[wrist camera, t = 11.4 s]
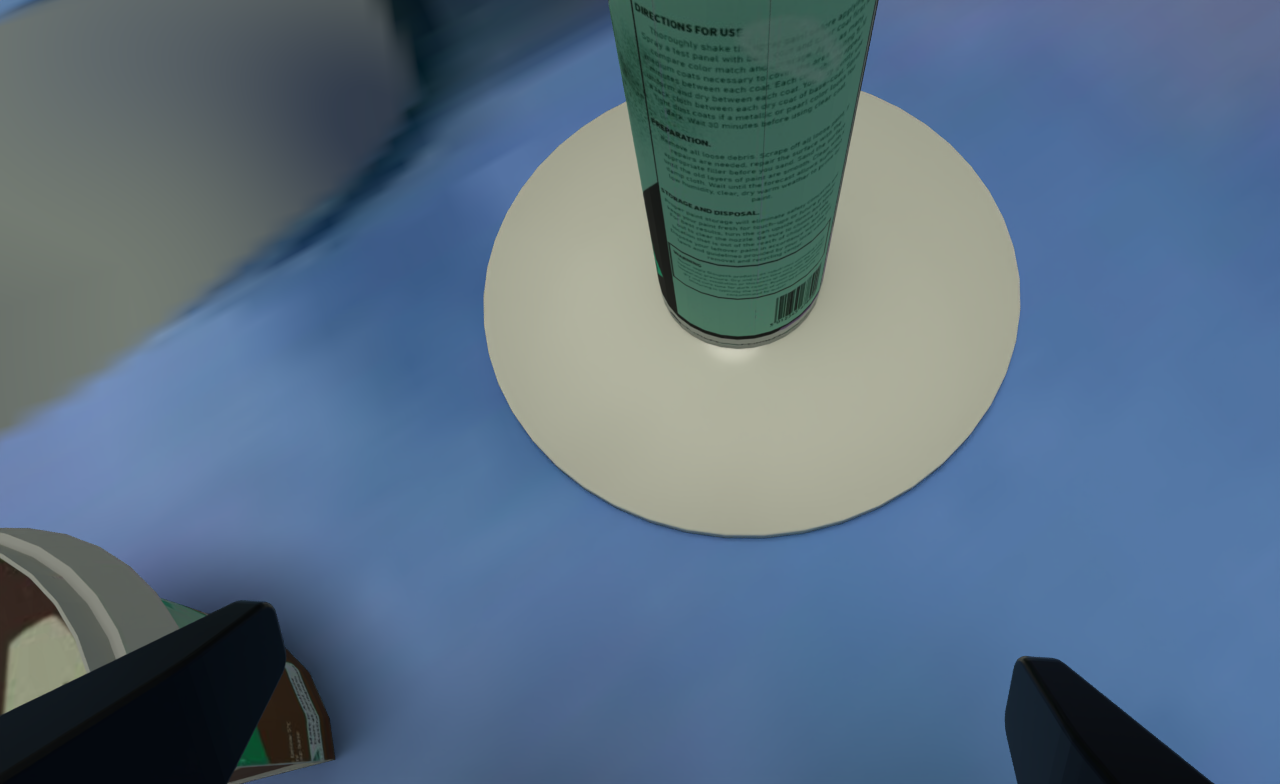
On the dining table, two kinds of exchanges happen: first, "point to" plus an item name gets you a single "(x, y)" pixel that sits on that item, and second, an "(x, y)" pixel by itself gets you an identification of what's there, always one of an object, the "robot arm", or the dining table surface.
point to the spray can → (741, 151)
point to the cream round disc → (765, 375)
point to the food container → (124, 641)
